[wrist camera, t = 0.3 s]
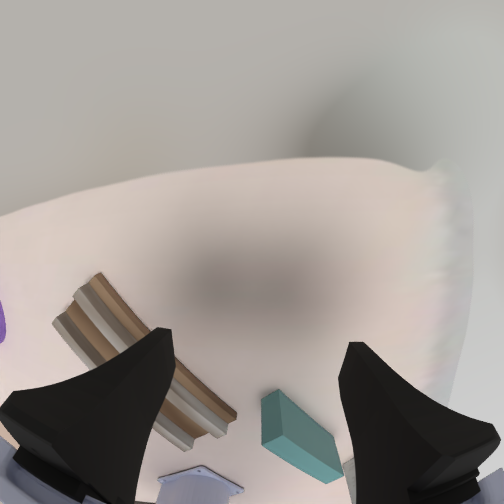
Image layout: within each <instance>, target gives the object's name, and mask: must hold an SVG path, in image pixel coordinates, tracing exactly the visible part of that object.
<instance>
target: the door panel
mask: <svg viewBox="0 0 504 504" xmlns="http://www.w3.org/2000/svg"><path fill="white" fill-rule="evenodd" d="M261 422H262V446H263V447H265V448H266V449H268V450H269V451H271V452H272V453H274V454H275V455H277V456H279V457H280V458H282V459H283V460H285V461H286V462H288V463H290V464H291V465H293V466H295V467H296V468H298V469H300V470H301V471H303V472H305V473H307V474H308V475H310V476H312V477H314V478H316V479H318V480H319V481H321V482H323V483H325V484H327V483H330V482H332V481H334V480H336V479H338V478H341V477H343V476H344V473H343V469H342V466H341V462H340V458H339V455H338V451H337V448H336V444H335V441H334V437H333V436H332V435H331V434H330V433H329V432H327V431H326V430H325V429H324V428H323V427H321V426H320V425H319V424H318V423H317V422H315V421H314V420H313V419H312V418H311V417H310V416H308V415H307V414H306V413H305V412H304V411H303V410H301V409H300V408H299V407H298V406H297V405H296V404H295V403H294V402H292V401H291V400H290V399H289V398H288V397H287V396H286V395H285V394H284V393H282V392H281V391H280V390H279V389H278V390H276V391H275V392H273V393H271V394H270V395H268V396H266V397H264V398H263V399H261Z"/></svg>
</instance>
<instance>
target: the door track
mask: <svg viewBox="0 0 504 504" xmlns="http://www.w3.org/2000/svg"><path fill="white" fill-rule="evenodd" d="M73 298H74V299H75V300H74V301H73V302H72V304H71V305H70V306H69V307H68V309H67V310H66V311H65V312H64V313H62V314H60V315H59V316H57V317H56V318H55V320H54V321H53V322H52V325H53V326H54V328H55V329H56V330H57V331H58V333H59V334H60V335H61V337H62V338H63V339H64V340H65V342H66V343H67V344H68V345H69V347H70V348H71V349H72V350H73V351H74V353H75V354H76V355H77V356H78V357H79V358H80V360H81V361H82V362H83V363H84V364H85V365H86V366H87V367H88V368H89V370H92V369H94V368H96V367H98V366H100V365H102V364H104V363H105V362H107V361H109V360H110V359H112V358H113V357H115V356H117V355H118V354H120V353H122V352H123V351H125V350H126V349H127V348H129V347H130V346H132V345H133V344H135V343H136V342H137V341H139V340H140V339H142V338H143V337H144V336H146V335H147V334H149V333H150V331H149V330H148V329H147V328H146V326H145V325H144V324H143V323H142V322H141V321H140V320H139V319H138V318H137V316H136V315H135V314H134V313H133V312H132V311H131V309H130V308H129V307H128V306H127V305H126V304H125V302H124V301H123V300H122V299H121V298H120V296H119V295H118V294H117V293H116V291H115V290H114V289H113V288H112V287H111V285H110V284H109V283H108V281H107V280H106V279H105V278H104V276H103V275H102V274H101V273H99V274H97V275H95V276H94V277H93V278H92V279H91V281H90V282H89V283H87V284H85V285H83V286H82V287H80V288H78V290H77V291H76V292H75V293H74V295H73ZM175 362H176V368H175V372H174V376H173V379H172V382H171V386H170V388H169V390H168V393H167V395H166V397H165V400H164V402H163V404H162V406H161V408H160V411H159V413H158V415H157V417H156V420H155V422H154V424H153V427H152V428H153V429H154V430H155V431H157V432H158V433H159V434H160V435H162V436H163V437H164V438H166V439H167V440H168V441H170V442H171V443H172V444H174V445H175V446H177V447H178V448H179V449H181V450H182V451H184V452H185V451H188V450H191V449H192V447H193V443H194V440H195V439H196V438H198V437H200V436H203V435H205V434H207V433H210V434H211V435H213V436H214V437H215V438H220V437H222V436H224V435H226V434H227V427H228V424H229V423H231V422H233V421H235V420H236V417H237V413H236V412H235V411H234V410H233V409H232V408H230V407H229V406H228V405H227V404H225V403H224V402H223V401H222V400H221V399H220V398H218V397H217V396H216V395H215V394H214V393H213V392H211V391H210V390H209V389H208V388H207V387H206V386H205V385H204V384H203V383H201V382H200V381H199V380H198V379H197V378H196V377H195V376H194V375H193V374H192V373H191V372H190V371H189V370H187V369H186V368H185V367H184V366H183V365H182V364H181V363H180V362H179V361H178V360H177V359H176V358H175Z"/></svg>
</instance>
